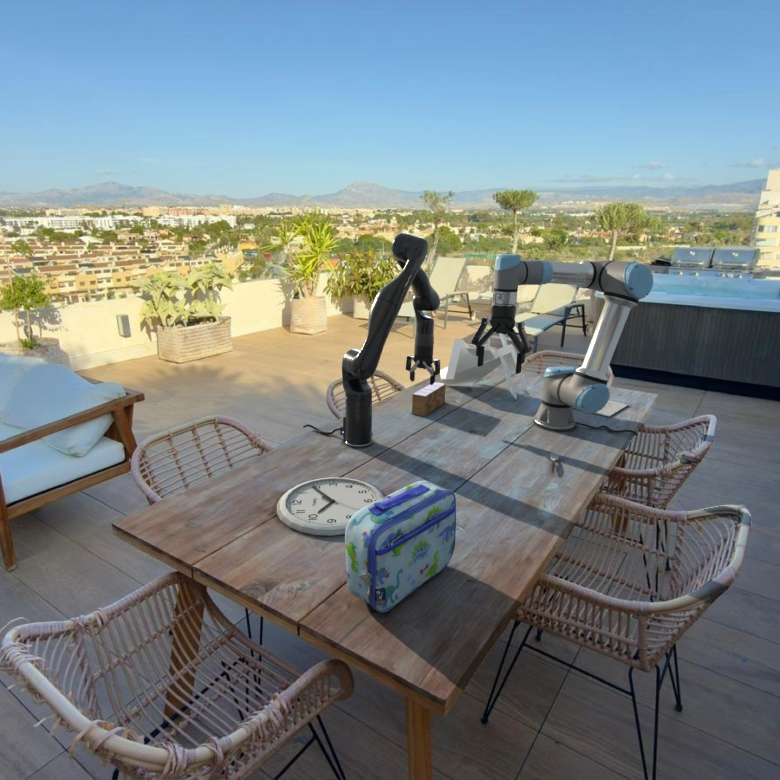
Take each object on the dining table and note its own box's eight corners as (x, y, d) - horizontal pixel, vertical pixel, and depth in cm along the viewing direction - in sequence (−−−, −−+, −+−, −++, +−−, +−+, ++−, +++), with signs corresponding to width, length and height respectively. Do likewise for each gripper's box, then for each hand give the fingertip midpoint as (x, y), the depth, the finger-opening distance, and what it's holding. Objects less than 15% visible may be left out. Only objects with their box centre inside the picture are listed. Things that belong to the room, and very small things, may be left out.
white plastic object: (461, 429, 252) (437, 405, 227) (444, 352, 274) (420, 323, 250) (535, 404, 240) (518, 377, 215) (510, 326, 262) (492, 293, 237)
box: (432, 400, 231) (433, 381, 229) (444, 402, 229) (445, 383, 226) (411, 413, 214) (412, 394, 211) (424, 416, 211) (425, 396, 209)
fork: (547, 473, 163) (548, 467, 163) (550, 454, 177) (551, 448, 177) (556, 475, 162) (556, 469, 162) (558, 455, 177) (559, 449, 176)
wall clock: (392, 527, 129) (268, 531, 127) (391, 533, 130) (269, 537, 127) (383, 473, 158) (282, 475, 155) (383, 478, 158) (282, 480, 156)
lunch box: (374, 626, 100) (375, 530, 93) (338, 598, 107) (337, 508, 101) (459, 568, 117) (465, 484, 111) (424, 547, 124) (427, 467, 118)
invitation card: (608, 416, 214) (573, 407, 224) (608, 416, 214) (573, 408, 224) (628, 404, 229) (594, 396, 238) (628, 405, 229) (594, 397, 238)
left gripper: (403, 342, 207) (402, 382, 212) (436, 347, 201) (434, 387, 205) (412, 339, 213) (410, 378, 218) (444, 344, 207) (441, 383, 212)
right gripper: (463, 301, 170) (459, 365, 176) (537, 309, 155) (530, 378, 162) (474, 299, 175) (470, 361, 182) (546, 307, 161) (539, 373, 168)
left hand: (422, 382), depth 212 cm, fingers open, 8 cm apart
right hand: (498, 369), depth 172 cm, fingers open, 13 cm apart
